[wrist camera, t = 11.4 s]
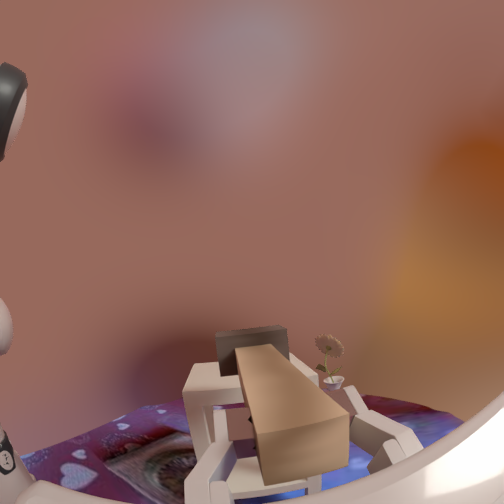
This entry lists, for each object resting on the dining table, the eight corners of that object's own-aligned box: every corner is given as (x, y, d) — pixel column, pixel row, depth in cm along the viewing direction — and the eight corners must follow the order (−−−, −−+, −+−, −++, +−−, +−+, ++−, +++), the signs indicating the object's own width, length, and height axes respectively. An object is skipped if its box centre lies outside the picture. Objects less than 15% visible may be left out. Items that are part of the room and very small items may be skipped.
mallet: (219, 490, 6) (201, 408, 7) (220, 366, 24) (216, 332, 25) (383, 452, 7) (388, 371, 7) (281, 358, 25) (278, 324, 26)
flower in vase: (366, 426, 51) (365, 331, 54) (327, 443, 47) (322, 342, 51) (338, 411, 63) (334, 328, 67) (302, 423, 60) (295, 336, 64)
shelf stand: (217, 526, 23) (182, 391, 27) (217, 480, 37) (194, 363, 41) (320, 510, 25) (317, 374, 29) (299, 469, 39) (290, 352, 43)
